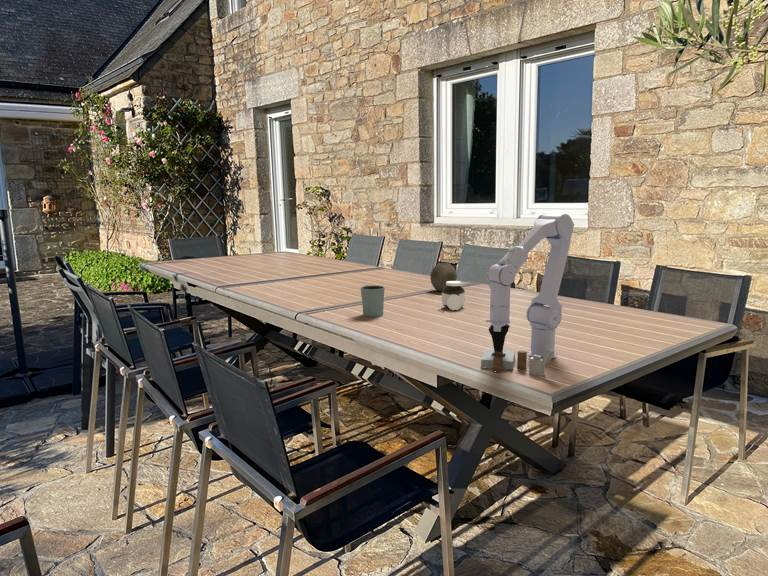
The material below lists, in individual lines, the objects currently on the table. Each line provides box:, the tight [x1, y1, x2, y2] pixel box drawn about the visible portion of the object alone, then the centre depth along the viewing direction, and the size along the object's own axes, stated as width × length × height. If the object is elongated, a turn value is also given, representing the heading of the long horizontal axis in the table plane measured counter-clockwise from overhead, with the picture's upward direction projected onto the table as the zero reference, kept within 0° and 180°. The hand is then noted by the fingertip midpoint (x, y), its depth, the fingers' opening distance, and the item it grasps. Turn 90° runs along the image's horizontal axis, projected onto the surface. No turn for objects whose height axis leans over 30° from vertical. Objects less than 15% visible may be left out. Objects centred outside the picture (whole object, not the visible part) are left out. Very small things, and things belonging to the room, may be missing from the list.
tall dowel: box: [494, 348, 504, 357], centre depth 169 cm, size 3×3×7 cm
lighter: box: [528, 349, 555, 377], centre depth 158 cm, size 7×2×8 cm, turn 41°
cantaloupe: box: [429, 262, 458, 292], centre depth 299 cm, size 14×14×15 cm
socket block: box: [480, 348, 516, 371], centre depth 170 cm, size 12×9×2 cm
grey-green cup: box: [360, 284, 386, 318], centre depth 240 cm, size 10×10×12 cm
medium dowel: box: [516, 350, 528, 371], centre depth 164 cm, size 3×3×5 cm
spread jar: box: [441, 280, 466, 311], centre depth 253 cm, size 12×11×12 cm
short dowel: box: [492, 356, 503, 373], centre depth 162 cm, size 3×3×4 cm
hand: (498, 350), depth 169 cm, fingers closed on tall dowel, 3 cm apart
